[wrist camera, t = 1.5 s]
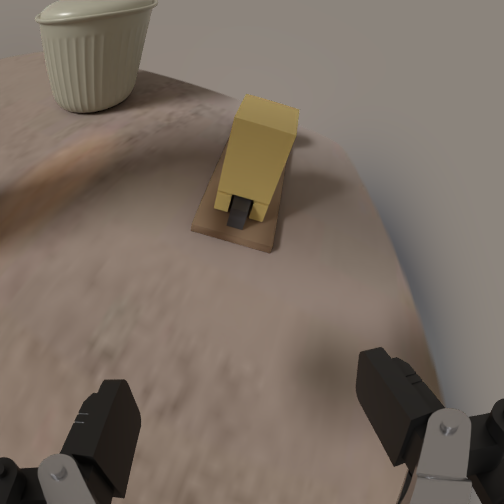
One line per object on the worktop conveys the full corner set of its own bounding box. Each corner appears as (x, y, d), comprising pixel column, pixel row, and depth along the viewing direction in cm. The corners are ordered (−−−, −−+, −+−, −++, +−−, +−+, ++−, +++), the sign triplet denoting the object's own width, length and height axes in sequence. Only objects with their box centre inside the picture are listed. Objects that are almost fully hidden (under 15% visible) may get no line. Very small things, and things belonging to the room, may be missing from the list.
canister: (97, 139, 35) (98, -18, 19) (22, 114, 36) (12, -6, 19) (168, 89, 47) (187, -26, 30) (93, 71, 47) (99, -27, 31)
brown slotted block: (190, 230, 30) (197, 185, 26) (234, 129, 43) (243, 93, 38) (269, 253, 31) (289, 212, 26) (287, 145, 43) (300, 111, 39)
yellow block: (213, 208, 31) (234, 117, 23) (225, 177, 34) (246, 93, 26) (262, 222, 31) (296, 135, 23) (268, 190, 34) (299, 109, 26)
